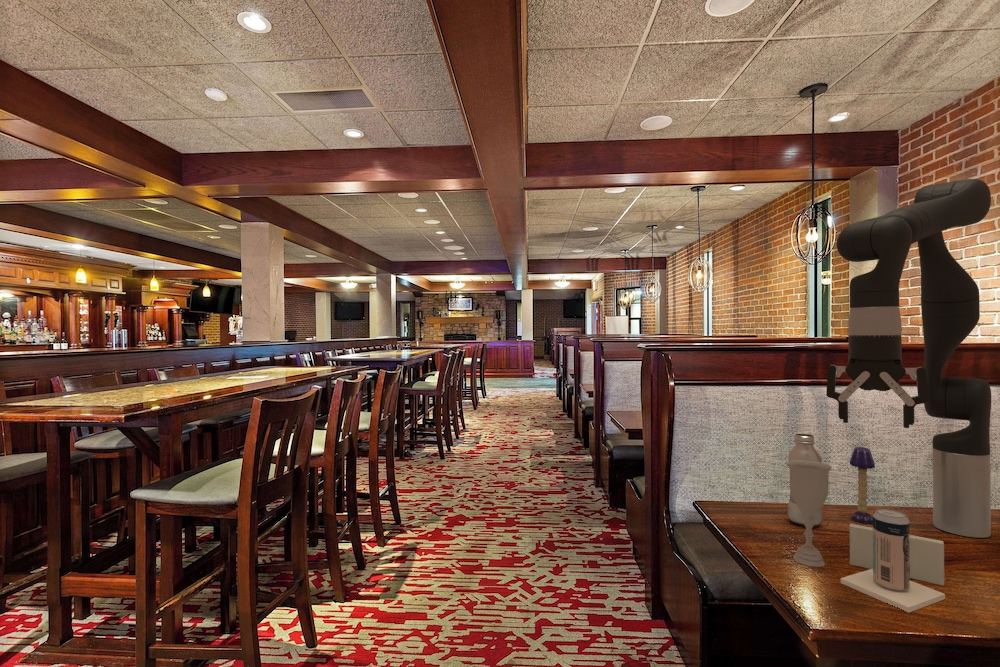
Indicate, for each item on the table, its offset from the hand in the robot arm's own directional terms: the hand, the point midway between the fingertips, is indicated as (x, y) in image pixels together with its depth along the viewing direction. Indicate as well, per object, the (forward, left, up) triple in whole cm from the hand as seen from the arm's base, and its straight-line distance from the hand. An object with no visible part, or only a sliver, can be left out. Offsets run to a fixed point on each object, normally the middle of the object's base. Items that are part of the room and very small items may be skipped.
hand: (875, 424), depth 87 cm
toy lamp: (-26, -17, -27) cm, 41 cm away
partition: (-4, +1, -26) cm, 27 cm away
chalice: (+5, -8, -27) cm, 28 cm away
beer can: (+4, +4, -26) cm, 26 cm away
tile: (+4, +4, -26) cm, 27 cm away
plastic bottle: (-12, -21, -27) cm, 36 cm away
